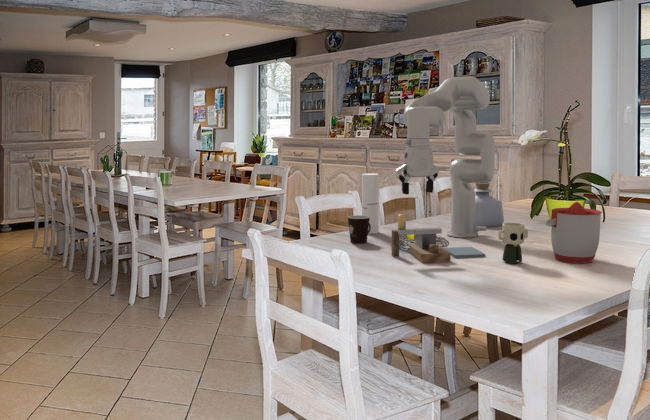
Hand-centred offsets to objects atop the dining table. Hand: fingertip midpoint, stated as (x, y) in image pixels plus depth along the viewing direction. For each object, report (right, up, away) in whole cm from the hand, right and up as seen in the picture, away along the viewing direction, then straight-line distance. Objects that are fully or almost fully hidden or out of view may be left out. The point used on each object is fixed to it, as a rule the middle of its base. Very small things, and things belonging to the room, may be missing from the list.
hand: (417, 193), depth 213 cm
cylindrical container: (-13, -16, +51) cm, 55 cm away
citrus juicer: (+51, -23, -5) cm, 56 cm away
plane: (0, -22, +4) cm, 22 cm away
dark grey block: (+3, -19, +4) cm, 20 cm away
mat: (+17, -21, +7) cm, 28 cm away
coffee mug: (-19, -19, +28) cm, 39 cm away
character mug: (+30, -24, -8) cm, 39 cm away
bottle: (+40, -12, +71) cm, 82 cm away
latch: (0, -14, -5) cm, 15 cm away
